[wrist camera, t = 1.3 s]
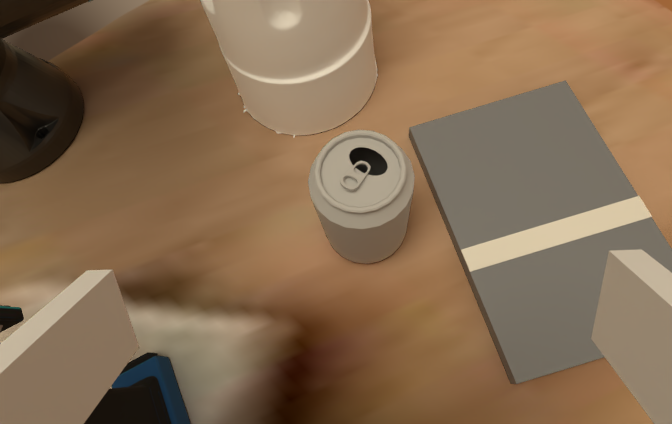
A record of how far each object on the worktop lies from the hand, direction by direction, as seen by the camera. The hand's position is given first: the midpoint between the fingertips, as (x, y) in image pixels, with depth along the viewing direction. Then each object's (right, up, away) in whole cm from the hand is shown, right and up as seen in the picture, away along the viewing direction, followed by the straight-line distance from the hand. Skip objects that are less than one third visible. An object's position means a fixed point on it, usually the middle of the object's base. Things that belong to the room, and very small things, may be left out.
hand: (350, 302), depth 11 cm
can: (+2, +1, +27) cm, 27 cm away
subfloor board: (+18, +2, +26) cm, 31 cm away
